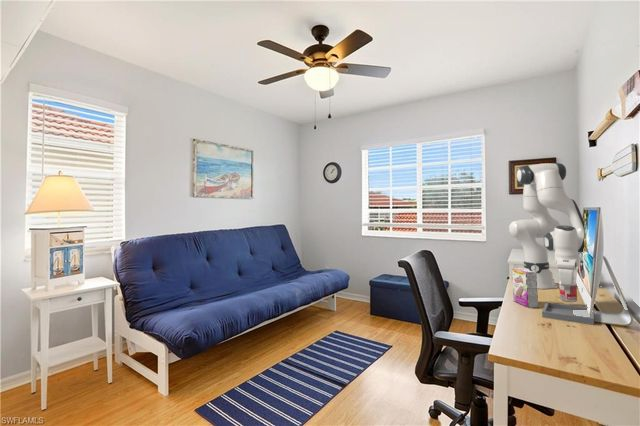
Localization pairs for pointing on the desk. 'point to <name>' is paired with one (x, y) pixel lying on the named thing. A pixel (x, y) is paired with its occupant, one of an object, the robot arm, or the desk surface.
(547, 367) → the desk surface
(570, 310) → the grey tray
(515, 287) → the candy bar box
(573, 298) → the pill bottle
